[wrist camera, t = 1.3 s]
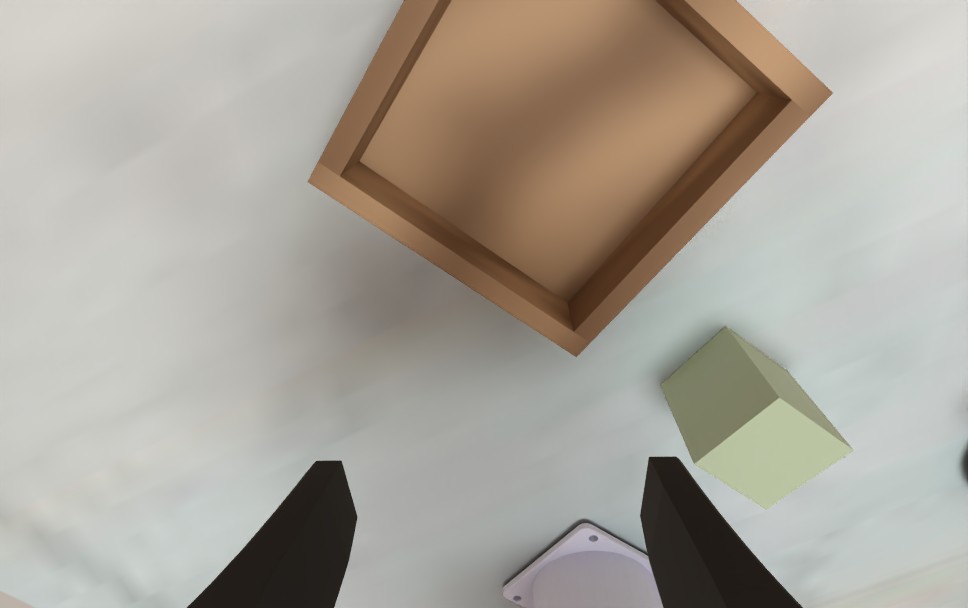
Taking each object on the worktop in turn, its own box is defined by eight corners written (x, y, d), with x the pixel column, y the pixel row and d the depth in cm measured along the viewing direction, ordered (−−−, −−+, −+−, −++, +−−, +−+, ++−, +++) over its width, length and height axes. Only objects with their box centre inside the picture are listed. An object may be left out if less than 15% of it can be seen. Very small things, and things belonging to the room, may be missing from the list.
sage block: (787, 370, 23) (853, 450, 18) (720, 424, 24) (766, 509, 20) (725, 325, 22) (779, 397, 17) (660, 384, 24) (694, 464, 19)
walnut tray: (783, 85, 17) (833, 92, 15) (568, 319, 22) (576, 356, 19) (515, -164, 15) (516, -210, 12) (335, 162, 19) (307, 181, 17)
